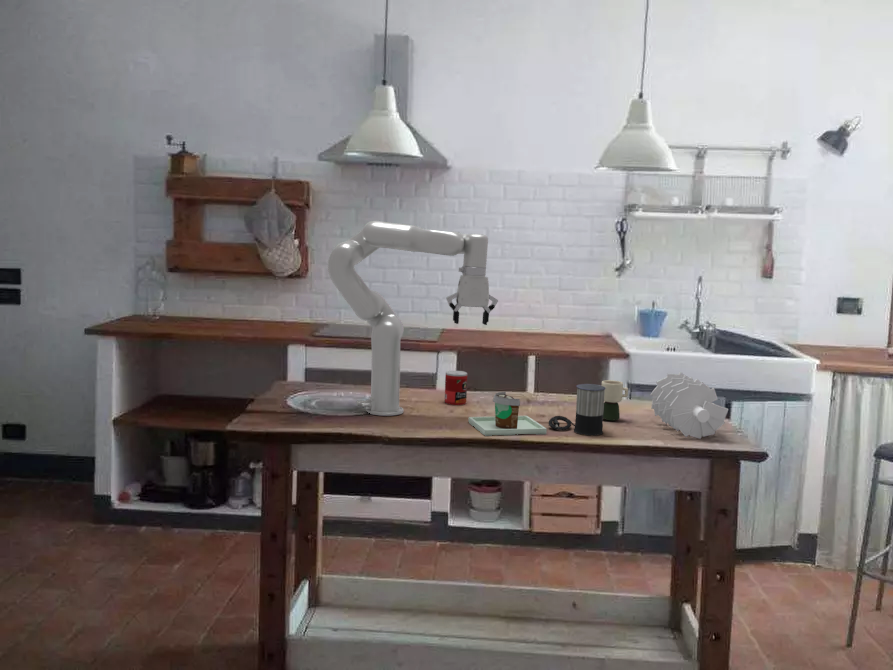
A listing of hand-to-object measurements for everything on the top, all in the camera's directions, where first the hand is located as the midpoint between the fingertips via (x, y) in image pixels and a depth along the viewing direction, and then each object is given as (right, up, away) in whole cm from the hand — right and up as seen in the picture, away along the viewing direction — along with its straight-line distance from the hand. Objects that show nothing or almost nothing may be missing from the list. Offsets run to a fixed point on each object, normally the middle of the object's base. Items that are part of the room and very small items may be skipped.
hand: (470, 323), depth 310 cm
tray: (+11, -33, -11) cm, 37 cm away
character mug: (+47, -32, +6) cm, 57 cm away
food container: (+10, -33, -11) cm, 36 cm away
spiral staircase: (+69, -35, -7) cm, 78 cm away
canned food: (-5, -28, +25) cm, 38 cm away
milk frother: (+33, -34, -11) cm, 49 cm away
